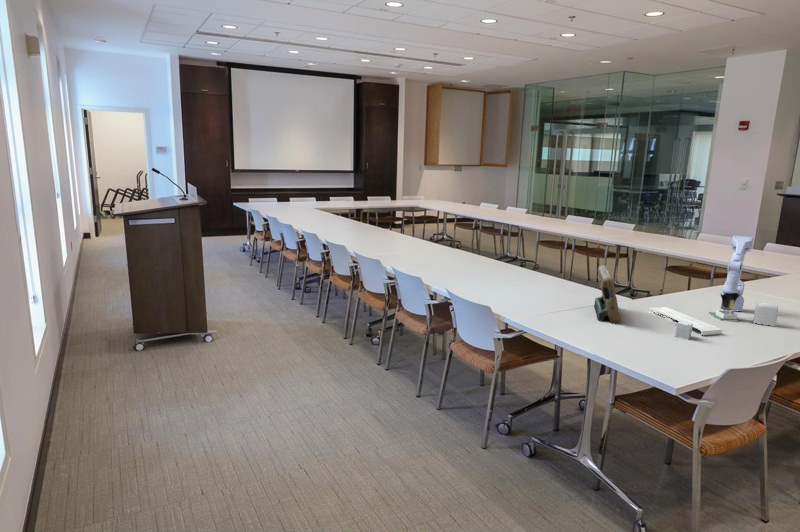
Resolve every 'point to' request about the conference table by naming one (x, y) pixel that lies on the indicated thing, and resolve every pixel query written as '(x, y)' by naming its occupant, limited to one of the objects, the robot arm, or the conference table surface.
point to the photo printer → (766, 313)
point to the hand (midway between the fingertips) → (727, 306)
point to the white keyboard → (702, 326)
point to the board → (724, 315)
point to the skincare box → (684, 329)
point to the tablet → (606, 297)
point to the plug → (730, 305)
